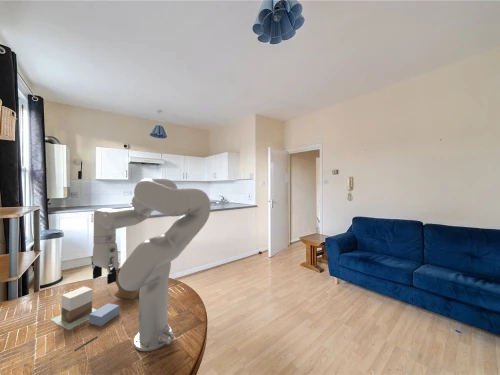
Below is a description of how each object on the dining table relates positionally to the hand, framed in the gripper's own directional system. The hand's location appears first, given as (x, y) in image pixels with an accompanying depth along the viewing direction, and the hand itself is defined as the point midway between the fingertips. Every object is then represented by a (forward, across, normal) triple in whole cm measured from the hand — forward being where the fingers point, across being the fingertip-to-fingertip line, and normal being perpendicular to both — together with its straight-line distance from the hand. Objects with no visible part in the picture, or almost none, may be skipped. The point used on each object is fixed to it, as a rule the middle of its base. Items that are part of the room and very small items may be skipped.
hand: (104, 279), depth 84 cm
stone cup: (+17, +8, -17) cm, 26 cm away
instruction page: (+17, -4, +10) cm, 20 cm away
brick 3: (+17, 0, 0) cm, 17 cm away
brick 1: (+11, +12, +4) cm, 16 cm away
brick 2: (+16, +12, +4) cm, 20 cm away
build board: (+17, +12, +4) cm, 21 cm away
